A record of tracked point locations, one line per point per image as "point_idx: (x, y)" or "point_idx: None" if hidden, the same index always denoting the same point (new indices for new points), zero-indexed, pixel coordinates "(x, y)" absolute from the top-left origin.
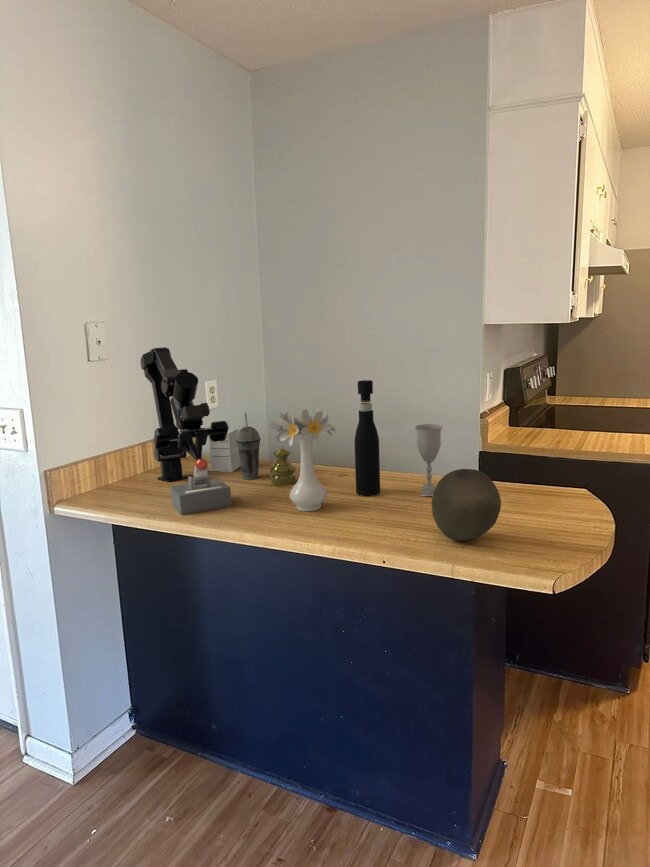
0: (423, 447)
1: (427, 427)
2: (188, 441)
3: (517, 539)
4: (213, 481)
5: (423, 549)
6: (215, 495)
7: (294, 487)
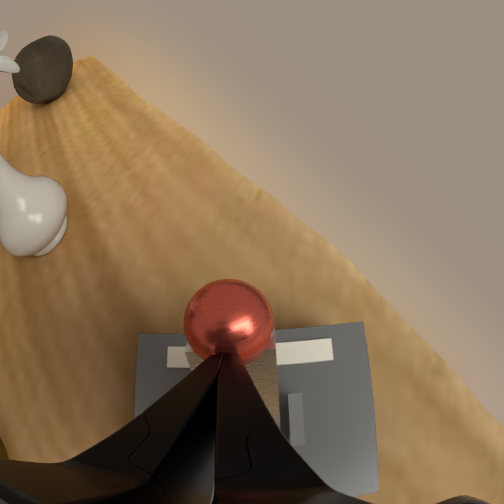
0: None
1: None
2: (302, 487)
3: None
4: None
5: (93, 82)
6: None
7: (39, 199)
